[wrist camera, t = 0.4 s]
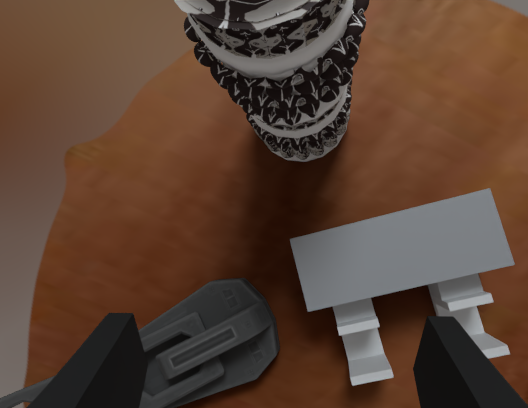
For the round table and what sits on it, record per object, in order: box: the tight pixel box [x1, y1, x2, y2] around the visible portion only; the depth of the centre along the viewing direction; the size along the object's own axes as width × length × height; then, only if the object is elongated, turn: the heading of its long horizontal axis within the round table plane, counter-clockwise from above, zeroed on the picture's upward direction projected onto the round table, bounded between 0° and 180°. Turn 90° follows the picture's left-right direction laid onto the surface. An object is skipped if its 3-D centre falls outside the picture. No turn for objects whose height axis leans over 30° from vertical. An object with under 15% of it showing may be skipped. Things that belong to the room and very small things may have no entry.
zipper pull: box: [0, 278, 280, 408], centre depth 36 cm, size 9×7×25 cm
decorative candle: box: [174, 0, 369, 162], centre depth 27 cm, size 9×9×25 cm
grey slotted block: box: [290, 188, 515, 386], centre depth 33 cm, size 11×14×7 cm
